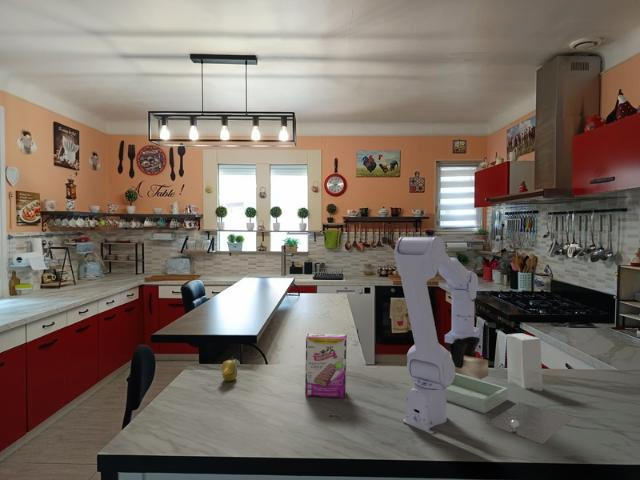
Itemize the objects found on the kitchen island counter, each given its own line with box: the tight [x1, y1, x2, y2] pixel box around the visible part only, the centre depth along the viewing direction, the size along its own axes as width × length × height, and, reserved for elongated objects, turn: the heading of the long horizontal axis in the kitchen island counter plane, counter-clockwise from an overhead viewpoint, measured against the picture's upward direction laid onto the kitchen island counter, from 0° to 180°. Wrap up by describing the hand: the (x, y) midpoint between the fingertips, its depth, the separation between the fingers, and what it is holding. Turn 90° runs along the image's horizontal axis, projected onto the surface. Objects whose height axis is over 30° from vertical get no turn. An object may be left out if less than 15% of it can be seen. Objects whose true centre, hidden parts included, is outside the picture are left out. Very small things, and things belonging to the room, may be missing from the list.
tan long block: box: [450, 353, 489, 380], centre depth 107 cm, size 12×4×4 cm, turn 41°
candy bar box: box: [304, 332, 348, 399], centre depth 109 cm, size 11×5×16 cm, turn 84°
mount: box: [485, 401, 573, 445], centre depth 92 cm, size 18×12×4 cm, turn 131°
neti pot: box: [220, 359, 238, 382], centre depth 120 cm, size 4×15×6 cm, turn 1°
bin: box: [447, 373, 509, 414], centre depth 107 cm, size 13×19×4 cm
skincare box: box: [506, 332, 544, 392], centre depth 116 cm, size 8×6×15 cm
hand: (462, 365), depth 107 cm, fingers closed on tan long block, 4 cm apart
